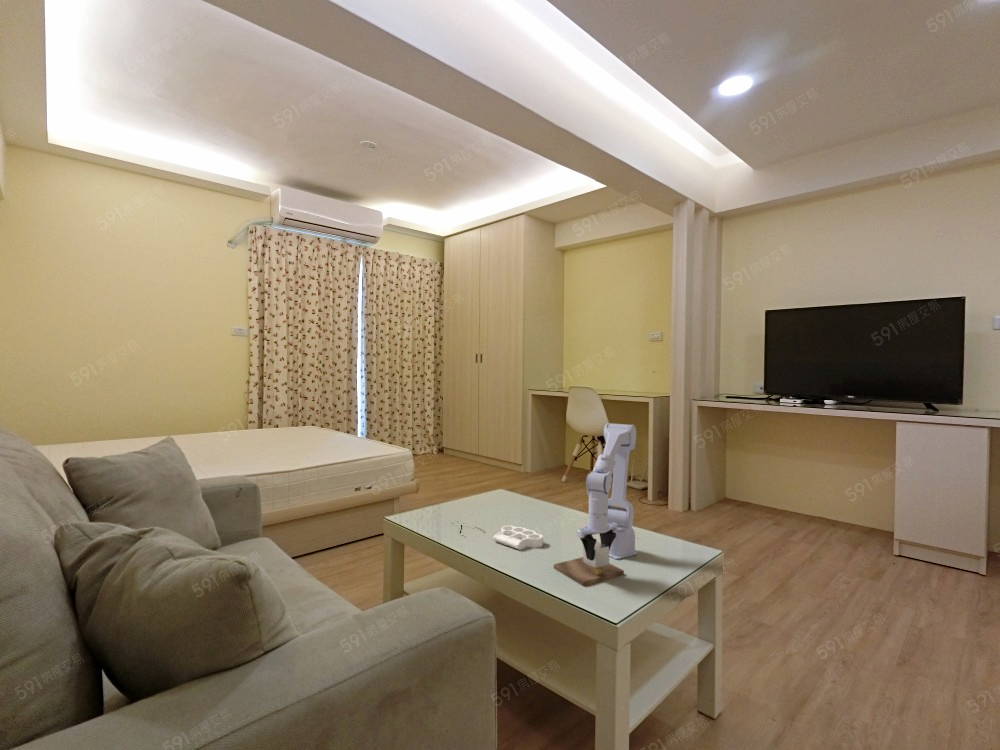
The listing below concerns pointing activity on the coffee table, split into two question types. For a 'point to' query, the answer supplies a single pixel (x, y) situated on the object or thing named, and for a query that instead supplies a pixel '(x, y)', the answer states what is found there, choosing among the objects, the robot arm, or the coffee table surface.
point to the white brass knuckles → (518, 537)
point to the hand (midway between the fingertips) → (597, 557)
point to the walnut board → (587, 571)
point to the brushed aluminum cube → (598, 555)
